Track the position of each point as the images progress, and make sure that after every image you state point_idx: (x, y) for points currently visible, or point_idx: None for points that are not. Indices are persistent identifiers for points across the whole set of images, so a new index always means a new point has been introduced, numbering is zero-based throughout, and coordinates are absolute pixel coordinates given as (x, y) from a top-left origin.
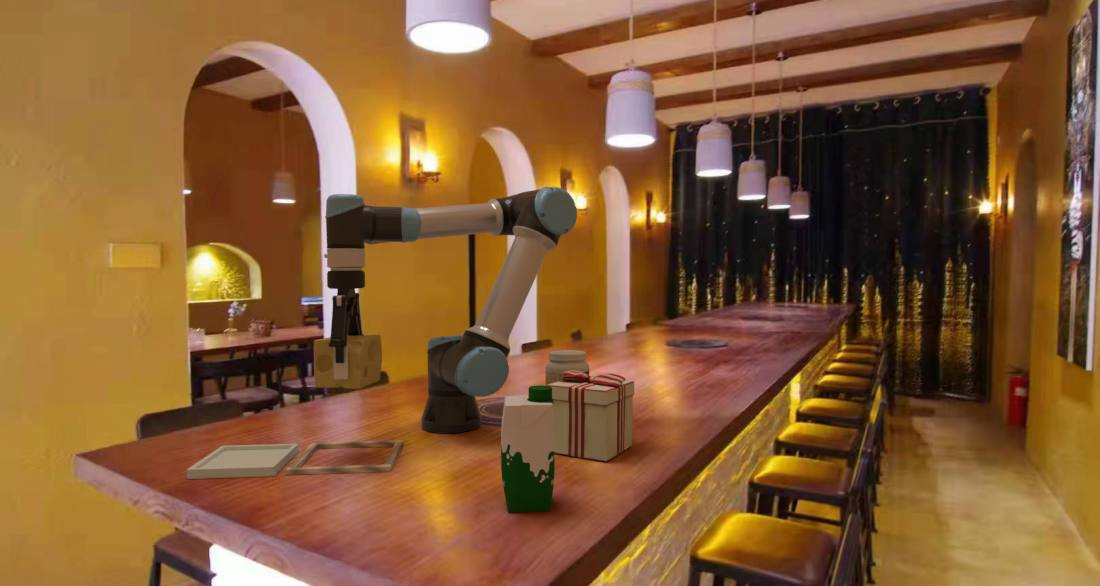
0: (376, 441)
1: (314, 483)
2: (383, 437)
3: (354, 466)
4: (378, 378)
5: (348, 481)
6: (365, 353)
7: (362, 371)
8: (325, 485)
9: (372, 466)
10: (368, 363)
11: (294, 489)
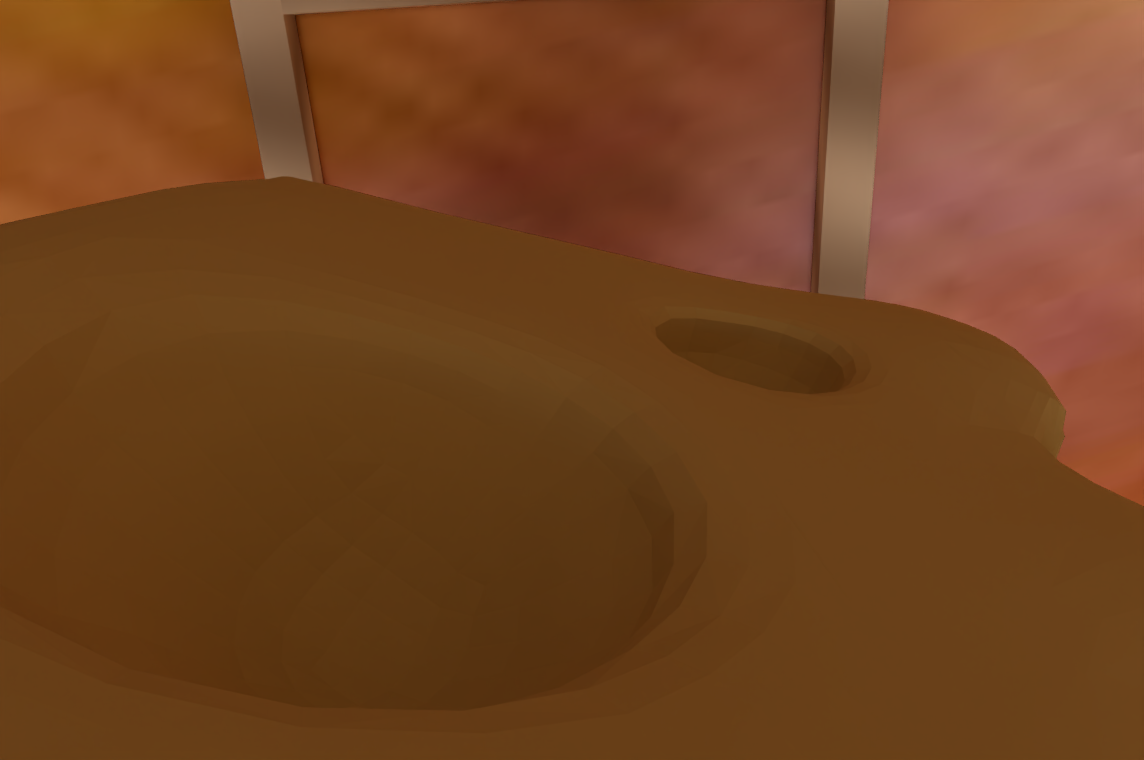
0: (282, 167)
1: (1007, 339)
2: (79, 162)
3: (848, 176)
4: (328, 188)
5: (1019, 159)
6: (900, 552)
7: (958, 382)
8: (1057, 272)
9: (869, 52)
10: (690, 379)
11: (1079, 409)
